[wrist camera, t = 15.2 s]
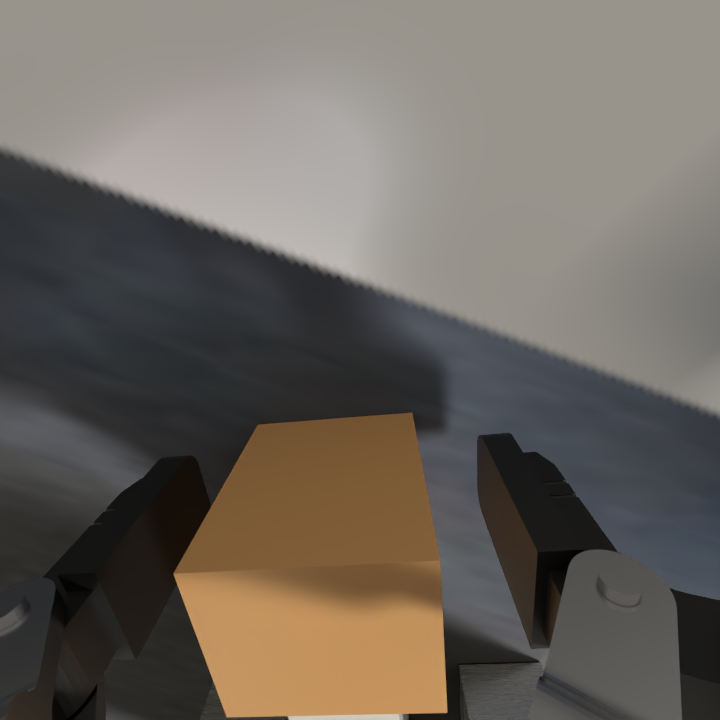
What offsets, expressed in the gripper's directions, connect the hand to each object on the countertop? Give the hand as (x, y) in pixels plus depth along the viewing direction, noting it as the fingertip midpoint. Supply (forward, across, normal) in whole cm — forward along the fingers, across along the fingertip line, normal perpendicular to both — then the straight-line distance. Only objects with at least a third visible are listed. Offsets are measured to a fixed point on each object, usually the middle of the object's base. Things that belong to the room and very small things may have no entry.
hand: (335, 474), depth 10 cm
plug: (+2, 0, +9) cm, 9 cm away
